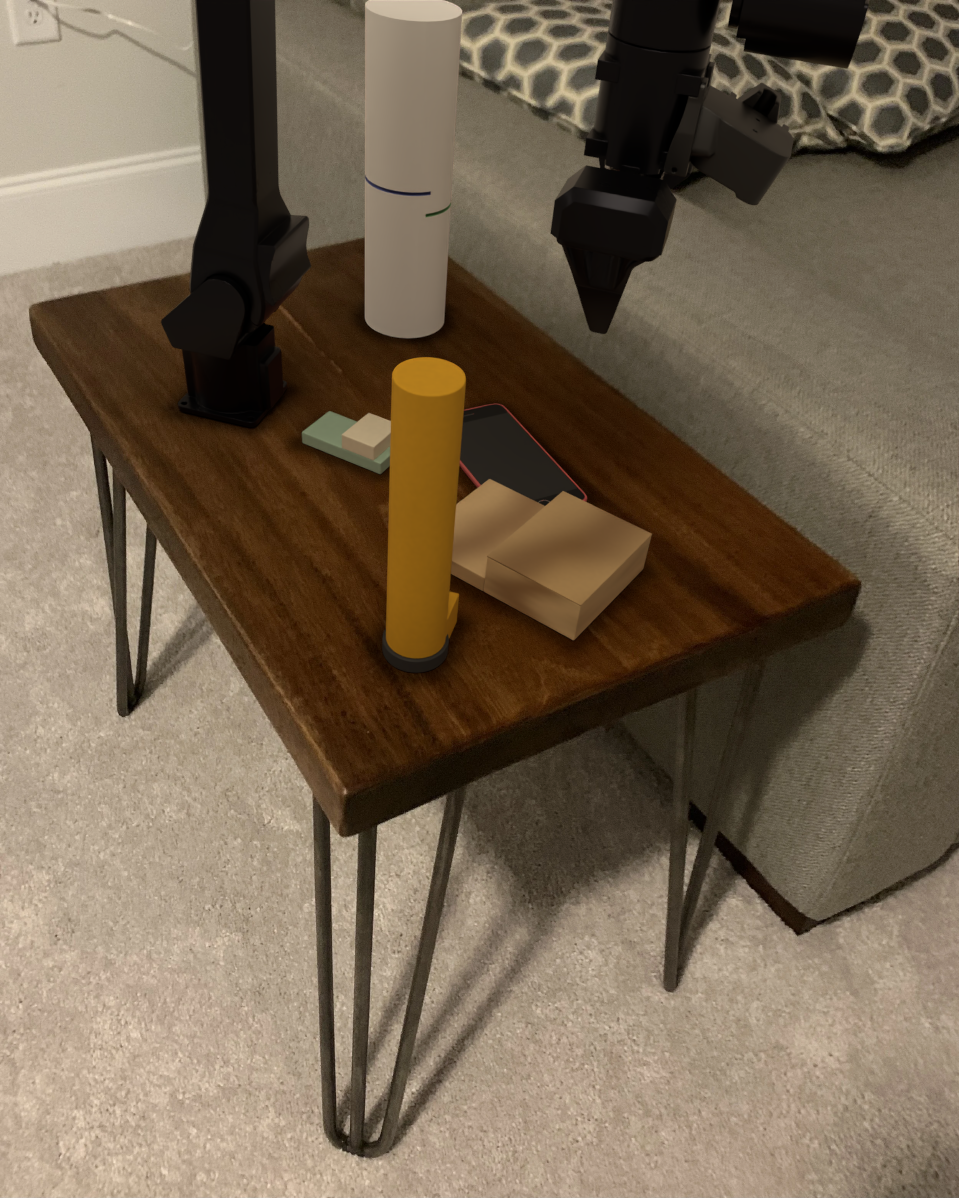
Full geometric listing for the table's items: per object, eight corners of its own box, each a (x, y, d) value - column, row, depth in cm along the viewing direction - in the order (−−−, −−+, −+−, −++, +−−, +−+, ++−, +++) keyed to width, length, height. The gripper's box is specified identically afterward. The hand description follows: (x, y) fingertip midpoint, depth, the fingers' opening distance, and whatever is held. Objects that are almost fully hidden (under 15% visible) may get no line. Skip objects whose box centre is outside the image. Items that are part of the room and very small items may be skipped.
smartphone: (508, 523, 72) (422, 418, 81) (507, 529, 73) (422, 424, 81) (593, 499, 75) (501, 400, 84) (591, 506, 75) (500, 406, 84)
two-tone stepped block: (301, 443, 78) (300, 418, 76) (329, 421, 80) (328, 396, 79) (380, 474, 76) (380, 449, 74) (406, 451, 78) (407, 426, 77)
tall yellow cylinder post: (436, 680, 61) (456, 405, 48) (372, 663, 62) (376, 387, 49) (461, 622, 65) (486, 353, 52) (401, 607, 66) (411, 336, 53)
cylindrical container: (356, 302, 95) (355, -6, 78) (432, 296, 97) (447, -6, 80) (374, 341, 90) (377, 21, 73) (453, 334, 92) (474, 21, 75)
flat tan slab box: (410, 552, 70) (412, 516, 68) (488, 491, 75) (491, 456, 73) (573, 641, 65) (581, 605, 63) (643, 569, 70) (652, 533, 68)
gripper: (798, 114, 49) (719, 398, 60) (814, 20, 62) (747, 265, 73) (569, 74, 51) (532, 357, 61) (632, -9, 64) (593, 235, 75)
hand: (611, 299), depth 67 cm, fingers open, 9 cm apart
